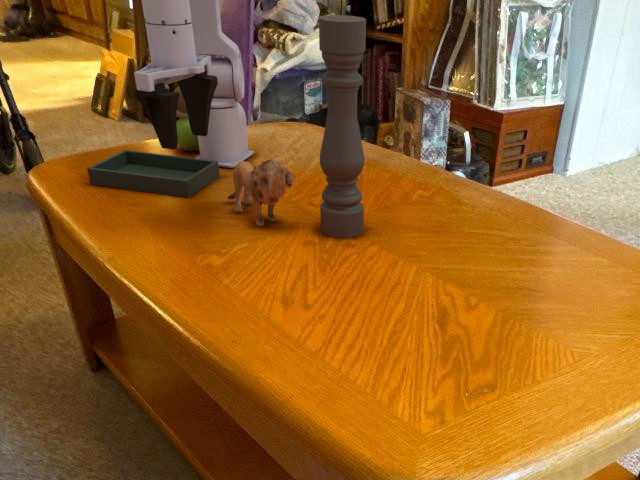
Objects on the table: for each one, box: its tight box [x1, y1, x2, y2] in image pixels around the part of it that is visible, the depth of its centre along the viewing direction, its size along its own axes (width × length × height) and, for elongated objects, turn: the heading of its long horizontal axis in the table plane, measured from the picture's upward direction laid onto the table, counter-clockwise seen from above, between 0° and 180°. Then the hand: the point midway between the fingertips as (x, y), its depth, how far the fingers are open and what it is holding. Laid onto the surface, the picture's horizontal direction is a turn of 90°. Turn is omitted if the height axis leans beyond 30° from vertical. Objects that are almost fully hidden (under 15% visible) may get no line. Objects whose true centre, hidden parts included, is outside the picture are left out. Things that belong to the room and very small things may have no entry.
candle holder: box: [318, 14, 367, 239], centre depth 89 cm, size 6×6×25 cm
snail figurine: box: [165, 84, 199, 152], centre depth 120 cm, size 5×6×12 cm
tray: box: [86, 149, 220, 198], centre depth 110 cm, size 11×17×2 cm, turn 75°
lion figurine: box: [227, 157, 296, 227], centre depth 98 cm, size 15×5×9 cm, turn 44°
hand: (185, 141), depth 94 cm, fingers open, 7 cm apart
